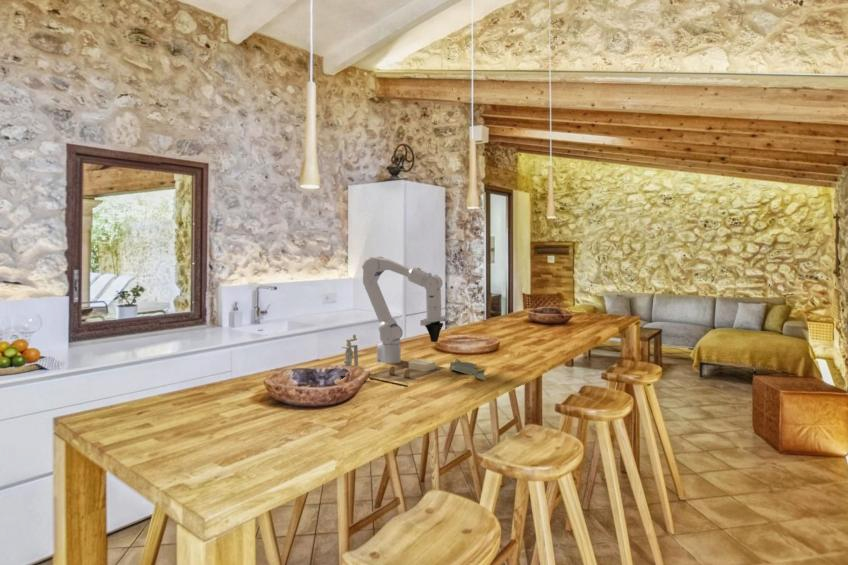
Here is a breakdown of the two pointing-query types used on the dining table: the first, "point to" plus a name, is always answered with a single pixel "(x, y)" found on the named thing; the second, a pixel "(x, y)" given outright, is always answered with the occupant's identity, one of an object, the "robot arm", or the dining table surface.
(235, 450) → the dining table surface
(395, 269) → the robot arm
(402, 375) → the bench board
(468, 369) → the metal bracket
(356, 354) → the clamp
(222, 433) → the dining table surface
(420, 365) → the cream rectangular block
